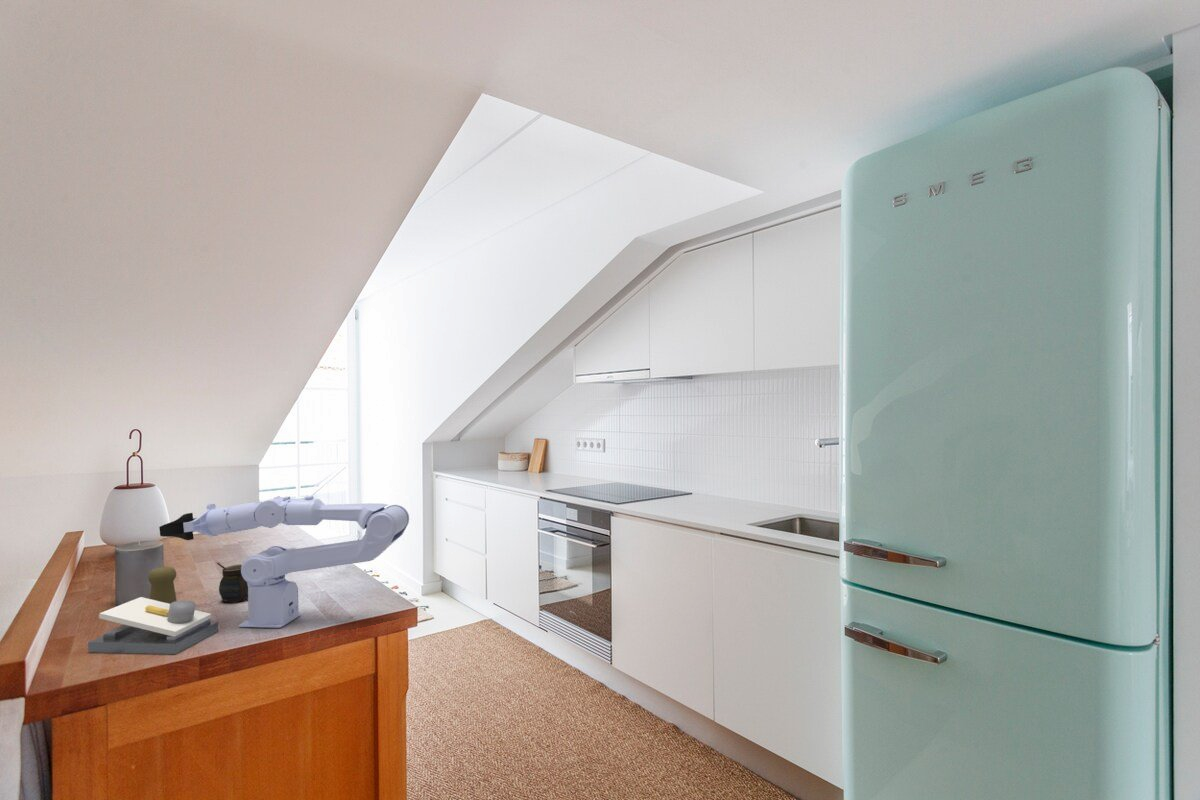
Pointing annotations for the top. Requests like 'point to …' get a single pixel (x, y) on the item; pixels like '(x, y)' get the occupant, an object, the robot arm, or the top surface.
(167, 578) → the cork
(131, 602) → the plate
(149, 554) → the pillar candle
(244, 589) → the mate gourd
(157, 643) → the grey rectangular base
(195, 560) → the top surface
